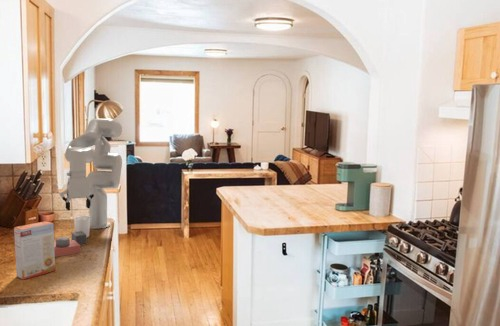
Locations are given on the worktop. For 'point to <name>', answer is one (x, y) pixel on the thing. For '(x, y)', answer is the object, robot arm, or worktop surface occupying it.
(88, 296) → the worktop surface
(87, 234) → the white cup
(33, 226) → the cracker box
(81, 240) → the gray rectangular box
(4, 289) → the worktop surface
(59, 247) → the pink two-prong plug
